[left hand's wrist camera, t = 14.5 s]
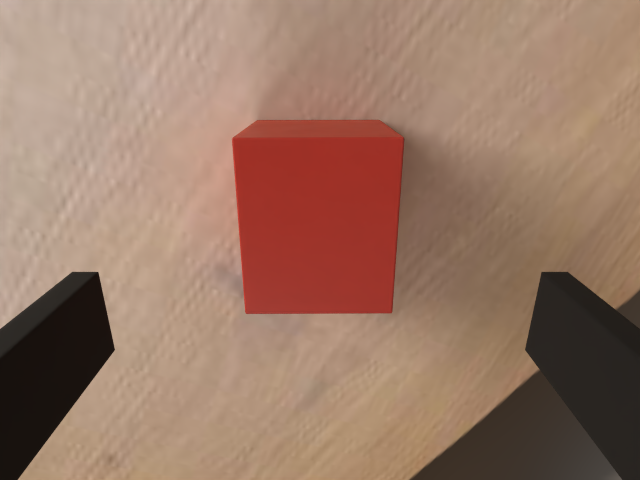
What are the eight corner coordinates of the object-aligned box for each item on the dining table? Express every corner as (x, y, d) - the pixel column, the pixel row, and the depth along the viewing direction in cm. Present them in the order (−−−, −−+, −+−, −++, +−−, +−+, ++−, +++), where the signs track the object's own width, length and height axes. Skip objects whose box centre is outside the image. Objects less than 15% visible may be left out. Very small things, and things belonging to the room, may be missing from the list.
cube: (373, 253, 27) (392, 313, 20) (263, 254, 27) (245, 314, 20) (380, 119, 24) (404, 137, 17) (256, 120, 24) (231, 137, 17)
